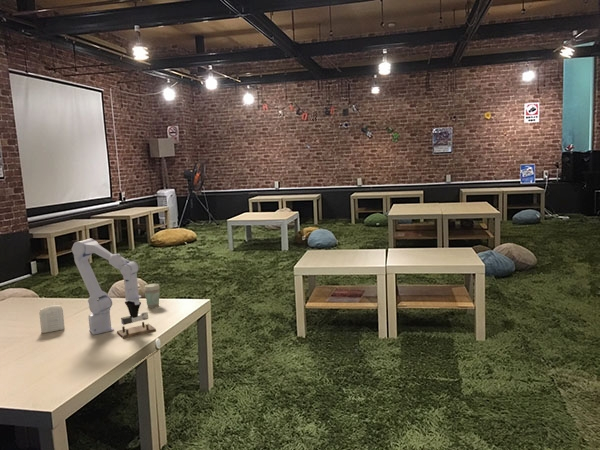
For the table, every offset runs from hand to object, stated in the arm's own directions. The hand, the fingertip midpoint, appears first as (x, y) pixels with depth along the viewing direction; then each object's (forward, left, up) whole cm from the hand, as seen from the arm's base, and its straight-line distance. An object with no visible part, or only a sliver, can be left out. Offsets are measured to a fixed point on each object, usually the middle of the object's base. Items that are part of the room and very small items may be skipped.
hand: (134, 316), depth 236 cm
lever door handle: (0, 0, -2) cm, 2 cm away
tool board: (0, 0, -8) cm, 8 cm away
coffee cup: (+21, +36, -8) cm, 42 cm away
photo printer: (-30, +31, -8) cm, 43 cm away
